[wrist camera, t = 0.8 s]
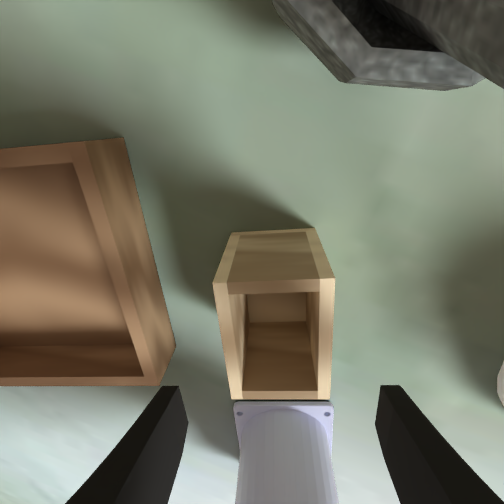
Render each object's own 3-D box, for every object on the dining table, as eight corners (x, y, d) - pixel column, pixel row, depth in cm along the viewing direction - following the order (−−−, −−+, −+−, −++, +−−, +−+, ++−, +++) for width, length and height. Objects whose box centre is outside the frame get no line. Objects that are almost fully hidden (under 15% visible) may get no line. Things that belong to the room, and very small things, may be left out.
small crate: (313, 322, 20) (329, 399, 14) (242, 324, 20) (231, 399, 15) (314, 227, 17) (335, 278, 11) (231, 232, 17) (212, 282, 12)
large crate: (176, 346, 21) (159, 385, 18) (-1, 349, 23) (-45, 386, 19) (123, 137, 15) (84, 141, 12) (-113, 159, 17) (-204, 167, 13)
